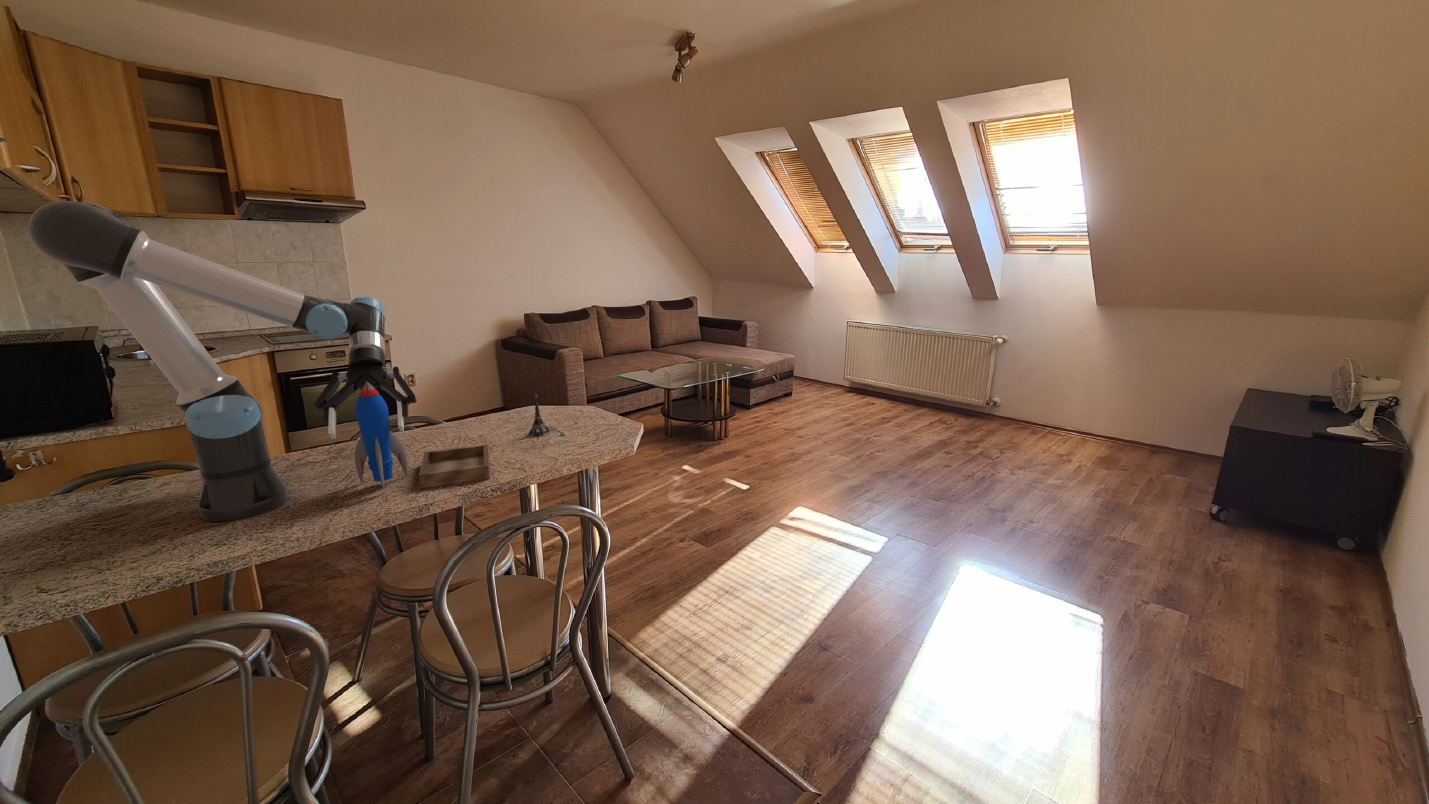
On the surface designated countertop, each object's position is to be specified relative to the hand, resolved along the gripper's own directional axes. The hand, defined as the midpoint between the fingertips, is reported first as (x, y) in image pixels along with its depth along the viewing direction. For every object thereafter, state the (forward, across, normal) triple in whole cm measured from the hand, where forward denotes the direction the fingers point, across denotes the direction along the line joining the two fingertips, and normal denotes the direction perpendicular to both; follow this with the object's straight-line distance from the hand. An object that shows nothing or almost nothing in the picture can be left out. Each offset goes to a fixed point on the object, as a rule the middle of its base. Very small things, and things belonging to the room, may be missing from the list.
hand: (367, 432), depth 130 cm
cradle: (+7, -17, -13) cm, 22 cm away
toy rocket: (+8, 0, -12) cm, 14 cm away
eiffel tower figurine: (-8, -39, -29) cm, 50 cm away
